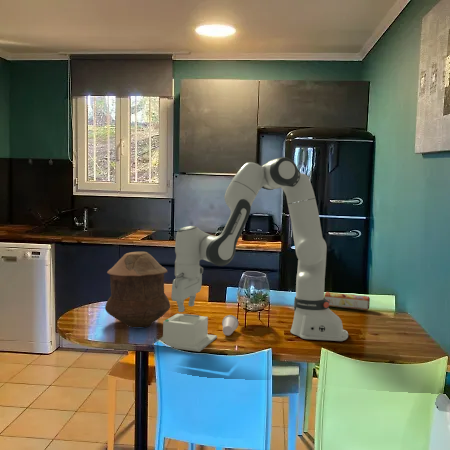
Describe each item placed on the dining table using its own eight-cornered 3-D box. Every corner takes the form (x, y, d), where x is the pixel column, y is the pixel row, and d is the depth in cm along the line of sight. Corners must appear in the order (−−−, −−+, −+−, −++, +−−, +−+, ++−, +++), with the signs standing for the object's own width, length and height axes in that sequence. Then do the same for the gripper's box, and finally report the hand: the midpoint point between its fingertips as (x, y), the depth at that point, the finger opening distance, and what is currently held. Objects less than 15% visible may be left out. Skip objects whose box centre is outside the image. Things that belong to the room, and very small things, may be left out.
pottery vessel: (178, 332, 203) (180, 255, 201) (112, 338, 192) (113, 257, 190) (159, 316, 226) (160, 247, 224) (99, 321, 216) (100, 249, 214)
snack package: (368, 311, 245) (369, 307, 251) (369, 298, 243) (370, 294, 250) (323, 307, 251) (325, 303, 258) (323, 294, 250) (325, 290, 257)
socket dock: (216, 337, 197) (217, 314, 196) (199, 351, 180) (200, 326, 179) (173, 332, 202) (173, 310, 202) (152, 345, 185) (152, 321, 185)
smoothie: (216, 325, 197) (221, 314, 211) (223, 341, 198) (227, 329, 211) (232, 320, 196) (236, 309, 210) (238, 335, 197) (241, 324, 210)
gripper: (184, 276, 178) (183, 316, 179) (204, 267, 198) (204, 303, 199) (167, 274, 180) (166, 314, 181) (189, 266, 199) (188, 302, 201)
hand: (186, 308), depth 190 cm, fingers open, 8 cm apart
